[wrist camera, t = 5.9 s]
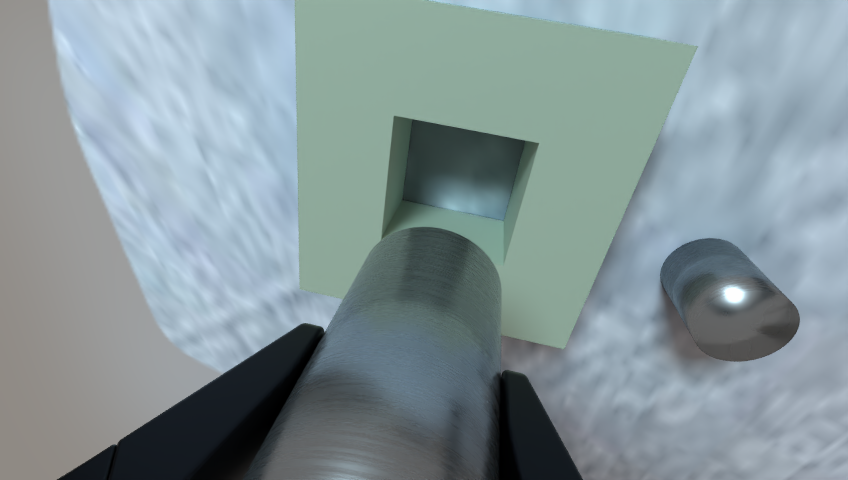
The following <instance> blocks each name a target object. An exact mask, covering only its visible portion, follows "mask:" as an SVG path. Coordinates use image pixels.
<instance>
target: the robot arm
mask: <svg viewBox="0 0 848 480" xmlns="http://www.w3.org/2000/svg"><path fill="white" fill-rule="evenodd" d="M323 335H324V329H323V328H322V327H321V326H316V325H312V324H308V323H303V324H301V325H299V326H297V327H296V328H294V329H293V330H291V331H290V332H288V333H286V334H285V335H283V336H282V337H280V338H279V339H277V340H276V341H274V342H272V343H271V344H269V345H268V346H266V347H265V348H263V349H261V350H260V351H258V352H257V353H255V354H254V355H252V356H251V357H249V358H247V359H246V360H244V361H243V362H241V363H240V364H238V365H237V366H235V367H233V368H232V369H230V370H229V371H227V372H226V373H224V374H222V375H221V376H220V377H218V378H216V379H215V380H213V381H212V382H210V383H208V384H207V385H205V386H204V387H202V388H201V389H199V390H198V391H196V392H194V393H193V394H191V395H190V396H188V397H187V398H185V399H184V400H182V401H180V402H179V403H177V404H176V405H174V406H173V407H171V408H169V409H168V410H166V411H165V412H163V413H162V414H160V415H158V416H157V417H155V418H154V419H152V420H151V421H149V422H148V423H146V424H144V425H143V426H142V427H140V428H138V429H137V430H135V431H134V432H132V433H130V434H129V435H127V436H126V437H124V438H123V439H121V440H120V441H119V442H118V444H117V445H111V446H110V447H108V448H107V449H105V450H104V451H102V452H101V453H99V454H97V455H96V456H94V457H93V458H91V459H89V460H88V461H86V462H85V463H83V464H82V465H80V466H78V467H77V468H75V469H73V470H72V471H71V472H69V473H67V474H65V475H64V476H62V477H60V478H59V479H57V480H243V478H244V476H245V474H246V472H247V471H248V469H249V467H250V465H251V463H252V462H253V460H254V458H255V456H256V454H257V453H258V451H259V449H260V447H261V446H262V444H263V442H264V440H265V438H266V437H267V435H268V433H269V431H270V429H271V428H272V426H273V424H274V422H275V421H276V419H277V417H278V415H279V413H280V412H281V410H282V408H283V406H284V404H285V403H286V401H287V399H288V397H289V395H290V394H291V392H292V390H293V388H294V387H295V385H296V383H297V381H298V379H299V378H300V376H301V374H302V372H303V370H304V369H305V367H306V365H307V363H308V362H309V360H310V358H311V356H312V354H313V353H314V351H315V349H316V347H317V345H318V344H319V342H320V340H321V338H322V336H323ZM499 480H583V479H582V477H581V475H580V473H579V471H578V470H577V468H576V466H575V464H574V462H573V460H572V459H571V457H570V455H569V453H568V451H567V449H566V448H565V446H564V444H563V442H562V440H561V438H560V437H559V435H558V433H557V431H556V429H555V427H554V426H553V424H552V422H551V420H550V418H549V416H548V415H547V413H546V411H545V409H544V407H543V405H542V404H541V402H540V400H539V398H538V396H537V394H536V393H535V391H534V389H533V387H532V385H531V383H530V382H529V380H528V378H527V377H526V376H525V375H524V374H522V373H517V372H513V371H509V370H505V371H504V372H503V373H502V375H501V387H500V469H499Z"/></svg>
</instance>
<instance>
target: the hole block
mask: <svg viewBox="0 0 848 480" xmlns="http://www.w3.org/2000/svg"><path fill="white" fill-rule="evenodd" d="M295 44H296V101H297V159H298V217H299V274H300V289H301V290H305V291H310V292H314V293H318V294H323V295H327V296H332V297H336V298H340V299H344V297H345V295H346V294H347V292H348V290H349V288H350V286H351V285H352V283H353V281H354V279H355V277H356V276H357V274H358V272H359V270H360V269H361V267H362V265H363V263H364V261H365V260H366V258H367V256H368V254H369V253H370V251H371V250H372V249H373V247H374V246H375V245H376V244H377V243H378V242H379V241H381V240H382V239H384V238H385V237H386V236H388V235H390V234H392V233H394V232H397V231H400V230H403V229H407V228H412V227H435V228H441V229H445V230H449V231H452V232H455V233H457V234H460V235H462V236H463V237H465V238H467V239H469V240H471V241H472V242H473V243H475V244H476V245H478V246H479V247H480V248H481V249H482V250H483V251H484V252H485V253H486V254H487V255H488V257H489V258H490V259H491V261H492V262H493V264H494V265H495V267H496V269H497V272H498V274H499V277H500V281H501V288H502V305H501V335H503V336H508V337H512V338H517V339H521V340H525V341H530V342H534V343H539V344H543V345H547V346H552V347H556V348H561V349H564V348H565V346H566V344H567V342H568V339H569V337H570V335H571V333H572V330H573V328H574V326H575V324H576V321H577V319H578V317H579V315H580V312H581V310H582V308H583V305H584V303H585V301H586V299H587V296H588V294H589V292H590V290H591V287H592V285H593V283H594V281H595V278H596V276H597V274H598V272H599V269H600V267H601V265H602V262H603V260H604V258H605V256H606V253H607V251H608V249H609V247H610V244H611V242H612V240H613V238H614V235H615V233H616V231H617V229H618V226H619V224H620V222H621V219H622V217H623V215H624V213H625V210H626V208H627V206H628V204H629V201H630V199H631V197H632V195H633V192H634V190H635V188H636V186H637V183H638V181H639V179H640V176H641V174H642V172H643V170H644V167H645V165H646V163H647V161H648V158H649V156H650V154H651V152H652V149H653V147H654V145H655V143H656V140H657V138H658V136H659V133H660V131H661V129H662V127H663V124H664V122H665V120H666V118H667V115H668V113H669V111H670V109H671V106H672V104H673V102H674V100H675V97H676V95H677V93H678V90H679V88H680V86H681V84H682V81H683V79H684V77H685V75H686V72H687V70H688V68H689V66H690V63H691V61H692V59H693V57H694V54H695V52H696V50H697V47H698V46H693V45H688V44H683V43H677V42H672V41H667V40H661V39H656V38H650V37H644V36H638V35H632V34H626V33H620V32H614V31H608V30H602V29H596V28H590V27H584V26H578V25H572V24H566V23H560V22H554V21H548V20H542V19H536V18H530V17H524V16H518V15H512V14H506V13H500V12H494V11H488V10H482V9H476V8H470V7H464V6H458V5H452V4H446V3H440V2H434V1H428V0H295ZM412 119H415V120H420V121H425V122H431V123H436V124H441V125H446V126H452V127H457V128H462V129H468V130H473V131H478V132H483V133H489V134H494V135H499V136H504V137H510V138H515V139H520V140H526V141H525V145H524V149H523V152H522V156H521V159H520V163H519V167H518V170H517V174H516V178H515V181H514V185H513V189H512V192H511V196H510V199H509V203H508V207H507V210H506V214H505V218H504V221H501V220H496V219H492V218H487V217H482V216H477V215H472V214H467V213H462V212H458V211H453V210H448V209H443V208H438V207H433V206H428V205H424V204H419V203H414V202H409V201H404V200H402V198H403V190H404V183H405V175H406V167H407V159H408V151H409V143H410V135H411V127H412Z"/></svg>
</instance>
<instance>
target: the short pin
mask: <svg viewBox="0 0 848 480" xmlns="http://www.w3.org/2000/svg"><path fill="white" fill-rule="evenodd" d="M660 278H661V283H662V285H663V287H664V289H665V290H666V292H667V294H668V296H669V297H670V299H671V301H672V303H673V304H674V306H675V308H676V309H677V311H678V313H679V315H680V316H681V318H682V320H683V322H684V323H685V325H686V327H687V329H688V330H689V332H690V334H691V336H692V337H693V339H694V341H695V342H696V344H697V346H698V347H699V348H700V349H701V350H702V351H703V352H704V353H706V354H707V355H709V356H711V357H714V358H716V359H720V360H725V361H749V360H754V359H758V358H762V357H765V356H767V355H770V354H772V353H774V352H776V351H777V350H779V349H781V348H782V347H784V346H785V345H786V344H787V343H788V342H789V341H790V340H791V339H792V338H793V337H794V335H795V334H796V332H797V330H798V327H799V322H800V317H799V313H798V310H797V308H796V307H795V305H794V304H793V303H792V302H791V301H790V300H789V299H788V298H787V297H786V296H785V295H784V294H783V293H782V292H781V291H780V290H779V289H778V288H777V287H776V286H775V285H774V284H773V283H772V282H771V281H770V280H769V279H768V278H767V277H766V276H765V275H764V274H763V273H762V272H761V271H760V270H759V269H758V267H757V266H756V265H755V264H754V263H753V262H752V261H751V260H750V259H749V258H748V257H747V256H746V255H745V254H744V253H743V252H742V251H741V250H740V249H739V248H738V247H737V246H735V245H734V244H732V243H730V242H728V241H725V240H721V239H714V238H707V239H699V240H695V241H692V242H689V243H686V244H684V245H682V246H681V247H679V248H677V249H676V250H675V251H673V252H672V253H671V254H670V255H669V256H668V257H667V259H666V260H665V262H664V263H663V266H662V268H661V273H660Z"/></svg>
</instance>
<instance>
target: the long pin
mask: <svg viewBox="0 0 848 480" xmlns="http://www.w3.org/2000/svg"><path fill="white" fill-rule="evenodd" d="M501 305H502V288H501V281H500V277H499V274H498V272H497V269H496V267H495V265H494V264H493V262H492V261H491V259H490V258H489V257H488V255H487V254H486V253H485V252H484V251H483V250H482V249H481V248H480V247H479V246H478V245H476V244H475V243H473V242H472V241H471V240H469V239H467V238H465V237H463V236H462V235H460V234H457V233H455V232H452V231H449V230H445V229H441V228H435V227H412V228H407V229H403V230H400V231H397V232H394V233H392V234H390V235H388V236H386V237H385V238H384V239H382V240H381V241H379V242H378V243H377V244H376V245H375V246H374V247H373V249H372V250H371V251H370V253H369V254H368V256H367V258H366V260H365V261H364V263H363V265H362V267H361V269H360V270H359V272H358V274H357V276H356V277H355V279H354V281H353V283H352V285H351V286H350V288H349V290H348V292H347V294H346V295H345V297H344V299H343V301H342V303H341V304H340V306H339V308H338V310H337V311H336V313H335V315H334V317H333V319H332V320H331V322H330V324H329V326H328V328H327V329H326V331H325V333H324V335H323V336H322V338H321V340H320V342H319V344H318V345H317V347H316V349H315V351H314V353H313V354H312V356H311V358H310V360H309V362H308V363H307V365H306V367H305V369H304V370H303V372H302V374H301V376H300V378H299V379H298V381H297V383H296V385H295V387H294V388H293V390H292V392H291V394H290V395H289V397H288V399H287V401H286V403H285V404H284V406H283V408H282V410H281V412H280V413H279V415H278V417H277V419H276V421H275V422H274V424H273V426H272V428H271V429H270V431H269V433H268V435H267V437H266V438H265V440H264V442H263V444H262V446H261V447H260V449H259V451H258V453H257V454H256V456H255V458H254V460H253V462H252V463H251V465H250V467H249V469H248V471H247V472H246V474H245V476H244V478H243V480H499V469H500V387H501Z"/></svg>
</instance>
